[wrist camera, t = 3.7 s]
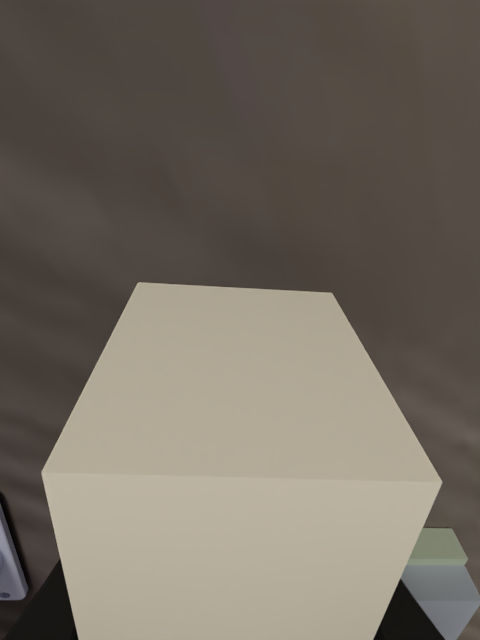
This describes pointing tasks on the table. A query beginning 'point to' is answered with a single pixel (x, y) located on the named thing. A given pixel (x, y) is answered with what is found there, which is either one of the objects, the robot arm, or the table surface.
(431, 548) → the two-layer flat tile
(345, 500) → the cream rectangular block
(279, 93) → the table surface
